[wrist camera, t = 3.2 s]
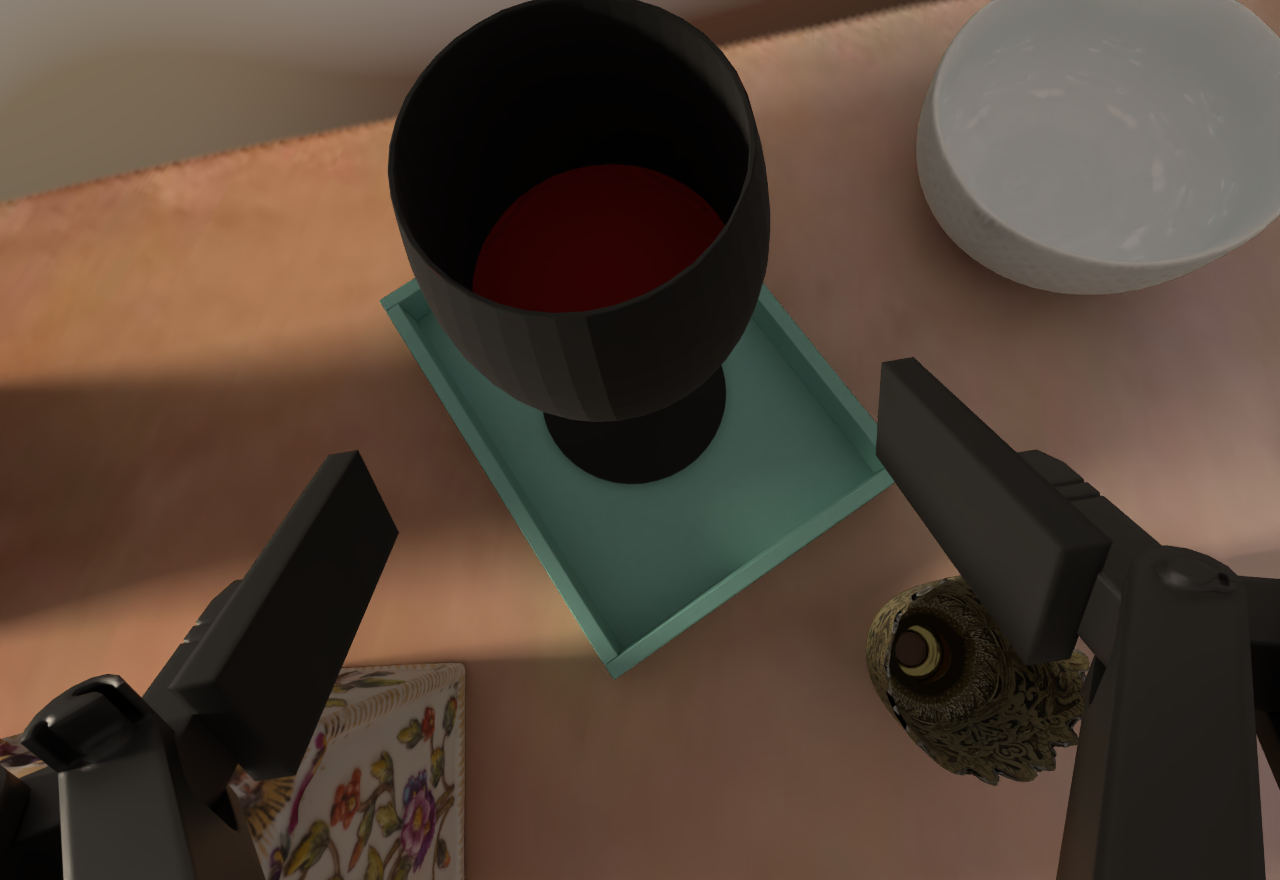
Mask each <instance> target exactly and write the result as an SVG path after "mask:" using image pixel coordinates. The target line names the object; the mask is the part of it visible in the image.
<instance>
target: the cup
mask: <svg viewBox="0 0 1280 880" xmlns="http://www.w3.org/2000/svg"><path fill="white" fill-rule="evenodd" d="M905 632H913V633H916V634H918V635H919V636H921V637H922V638H923V640H924V641H925V643H926V646H927V656H926V658H925V660H924V661H923V662H922V663H921V664H919V665H917V666H907V665H905V664H903V663H901V662H900V661H899V660H898V659H897V657H896V644H897V641H898V638H899V637H900V635H901V634H902V633H905ZM866 658H867V665H868V670H869V674H870V677H871V680H872V683H873V685H874V687H875V689H876V691H877V693H878V695H879V697H880V699H881V700H882V702H883V703H884V705H885V706H886V708H887V709H888V710H889V712H890V713H891V714H892V715H893V717H894V718H895V719H896V720H897V722H898V723H899V724H900V725H901V726H902V727H903V729H904V730H905V731H906V732H907V734H908V735H909V736H910V737H911V739H912V740H913V741H914V742H915V743H916V744H917V745H918V746H919V747H921V748H922V749H923V750H924V751H925V752H926V753H927V754H928V755H929V756H930V757H931V758H932V759H933V760H934V761H935V762H937V763H938V764H939V765H940V766H942V767H943V768H945V769H946V770H948V771H950V772H951V773H954V774H957V775H965V774H972V775H974V776H976V777H977V778H979V779H980V780H981V781H983V782H985V783H987V784H990V785H994V786H996V785H998V782H999V780H1000V779H999V778H1000V777H999V776H998V775H999V774H1000V775H1002V776H1004V777H1007V778H1009V779H1012V780H1015V781H1020V782H1028V781H1032V780H1034V778H1036V777H1037V776H1038V775H1037V771H1038V772H1041V771H1042V770H1044V771H1054V770H1055V768H1056V761H1055V757H1056V755H1057V754H1056V751H1055V749H1053V747H1055V746H1057V747H1065V748H1066V747H1069V746H1073V745H1077V744H1078V740H1079V738H1078V736H1077V735H1076V733H1075V732H1074V731H1073V728H1072V727H1074V725H1075V724H1076V723H1077V722H1078V721H1079V720H1082V715H1083V708H1084V702H1085V696H1082V695H1080V691H1081V689H1082V686H1083V684H1084V681H1085V679H1086V675H1085V672H1086V671H1088V670H1089V660H1088V657H1087V656H1086V655H1085V654H1084V653H1083V652H1082V651H1080V650H1075V649H1074V650H1073V653H1072V656H1071V658H1070V659H1067V660H1061V661H1054V662H1047V663H1041V664H1034V665H1027V666H1026V665H1025V664H1024V662H1023V661H1022V660H1021V658H1020V657H1019V655H1018V654H1017V653H1016V651H1015V650H1014V648H1013V647H1012V646H1011V644H1010V643H1009V641H1008V640H1007V639H1006V637H1005V636H1004V634H1003V633H1002V632H1001V630H1000V629H999V627H998V626H997V625H996V623H995V622H994V620H993V619H992V618H991V616H990V615H989V613H988V612H987V611H986V609H985V608H984V606H983V605H982V604H981V602H980V601H979V599H978V598H977V597H976V595H975V594H974V592H973V591H972V590H971V588H970V587H969V585H968V584H967V583H966V581H965V580H964V578H963V577H962V576H961V575H960V576H954V577H949V578H944V579H941V580H938V581H933V582H929V583H926V584H922V585H919V586H916V587H913V588H910V589H908V590H906V591H904V592H902V593H900V594H898V595H897V596H895V597H894V598H892V599H891V600H890V601H889V602H888V603H887V604H886V605H885V606H884V607H883V608H882V609H881V610H880V611H879V613H878V614H877V616H876V617H875V619H874V621H873V623H872V625H871V627H870V630H869V634H868V638H867V646H866Z"/></svg>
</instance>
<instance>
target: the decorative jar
mask: <svg viewBox="0 0 1280 880" xmlns="http://www.w3.org/2000/svg"><path fill="white" fill-rule="evenodd" d="M22 736H23V733H20V734H18V735H14V736H11V737H6V738H3V739H0V765H2V766H3V767H4V768H6V769H7V770H8V771H10V772H11V773H12V774H14V775H15V776H16V777H18V778H20V777H23V776H25V775H28V774H30V773H33V772H35V771H37V770H40V769H42V768H45V767H47V766H48V765H47V764H46V763H44V762H43V761H42V760H41V759H39V758H38V757H37V756H36V755H34V754H33V753H32V752H31V751H29V750H28V749H27V748H25V747H24V746H23V745H22V744H20V742H21V739H22ZM228 785H229V786H230V787H231V788H232V789H233V790H234V792H235V793H236V794H237V796H238V799H239V802H240V805H241V808H242V811H243V814H244V817H245V819H246V822H247V825H248V828H249V831H250V834H251V837H252V840H253V843H254V846H255V849H256V852H257V855H258V858H259V861H260V864H261V867H262V870H263V873H264V876H265V879H266V880H464V815H465V812H464V798H465V669H464V665H463V664H461V663H437V664H432V663H428V664H403V665H386V666H371V667H353V668H341V670H340V672H339V675H338V677H337V680H336V682H335V684H334V687H333V689H332V691H331V694H330V696H329V698H328V701H327V703H326V705H325V708H324V710H323V713H322V715H321V717H320V720H319V722H318V724H317V727H316V729H315V731H314V734H313V736H312V738H311V741H310V743H309V746H308V748H307V750H306V753H305V755H304V757H303V760H302V762H301V764H300V767H299V769H298V771H297V774H296V775H295V776H288V777H282V778H275V779H268V780H262V781H254V780H253V779H252V778H251V777H250V776H249V775H248V774H247V773H246V772H245V770H244V769H243V768H242V767H241V766H240V765H239V764H238V765H237V767H236V769H235V771H234V773H233V775H232V777H231V779H230V781H229V782H228Z"/></svg>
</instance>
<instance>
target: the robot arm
mask: <svg viewBox="0 0 1280 880" xmlns="http://www.w3.org/2000/svg"><path fill="white" fill-rule="evenodd" d="M876 457H877V458H878V459H879V461H880V462H881V464H882V465H883V466H884V468H885V469H886V471H887V472H888V473H889V475H890V476H891V478H892V479H893V480H894V482H895V483H896V485H897V486H898V487H899V489H900V490H901V492H902V493H903V494H904V496H905V497H906V499H907V500H908V501H909V503H910V504H911V506H912V507H913V508H914V510H915V511H916V513H917V514H918V515H919V517H920V518H921V520H922V521H923V522H924V524H925V525H926V527H927V528H928V529H929V531H930V532H931V534H932V535H933V536H934V538H935V539H936V541H937V542H938V543H939V545H940V546H941V548H942V549H943V550H944V552H945V553H946V555H947V556H948V557H949V559H950V560H951V562H952V563H953V564H954V566H955V567H956V569H957V570H958V571H959V573H960V574H961V576H962V577H963V578H964V580H965V581H966V583H967V584H968V585H969V587H970V588H971V590H972V591H973V592H974V594H975V595H976V597H977V598H978V599H979V601H980V602H981V604H982V605H983V606H984V608H985V609H986V611H987V612H988V613H989V615H990V616H991V618H992V619H993V620H994V622H995V623H996V625H997V626H998V627H999V629H1000V630H1001V632H1002V633H1003V634H1004V636H1005V637H1006V639H1007V640H1008V641H1009V643H1010V644H1011V646H1012V647H1013V648H1014V650H1015V651H1016V653H1017V654H1018V655H1019V657H1020V658H1021V660H1022V661H1023V662H1024V664H1025V665H1026V666H1027V665H1034V664H1041V663H1047V662H1054V661H1061V660H1067V659H1070V658H1071V656H1072V653H1073V650H1074V647H1075V645H1076V642H1077V639H1078V636H1080V638H1081V639H1082V640H1083V641H1084V642H1085V644H1086V645H1087V646H1088V647H1089V648H1090V649H1091V651H1092V652H1093V653H1094V654H1095V656H1094V658H1093V661H1092V663H1091V666H1090V668H1089V671H1088V674H1087V676H1086V679H1085V681H1084V684H1083V686H1082V689H1081V691H1080V695H1082V696H1085V702H1084V708H1083V715H1082V721H1081V727H1080V733H1079V740H1078V746H1077V752H1076V758H1075V765H1074V771H1073V777H1072V783H1071V790H1070V796H1069V802H1068V808H1067V814H1066V821H1065V827H1064V833H1063V839H1062V846H1061V852H1060V858H1059V864H1058V871H1057V877H1056V880H1266V877H1265V862H1264V846H1263V831H1262V816H1261V801H1260V786H1259V770H1258V755H1257V740H1256V734H1257V737H1258V739H1259V742H1260V744H1261V746H1262V749H1263V751H1264V753H1265V756H1266V758H1267V761H1268V763H1269V765H1270V768H1271V770H1272V773H1273V775H1274V777H1275V780H1276V782H1277V785H1278V787H1279V789H1280V579H1271V578H1259V577H1246V576H1237V575H1236V574H1235V573H1234V572H1233V571H1232V570H1231V569H1230V568H1229V567H1228V566H1226V565H1224V564H1223V563H1221V562H1219V561H1217V560H1215V559H1214V558H1212V557H1210V556H1208V555H1205V554H1202V553H1199V552H1196V551H1193V550H1190V549H1187V548H1180V547H1173V546H1162V545H1161V544H1159V543H1158V542H1157V541H1156V540H1155V539H1154V538H1152V537H1151V536H1150V535H1149V534H1148V533H1147V532H1145V531H1144V530H1143V529H1142V528H1141V527H1140V526H1138V525H1137V524H1136V523H1135V522H1134V521H1132V520H1131V519H1130V518H1129V517H1128V516H1127V515H1125V514H1124V513H1123V512H1122V511H1121V510H1120V509H1118V508H1117V507H1116V506H1115V505H1114V504H1112V503H1111V502H1110V501H1109V500H1108V499H1107V498H1105V497H1104V496H1100V492H1098V491H1097V490H1096V489H1095V488H1094V487H1092V486H1091V485H1090V484H1089V483H1088V482H1084V479H1083V478H1082V477H1081V476H1080V475H1078V474H1077V473H1076V472H1075V471H1074V470H1072V469H1071V468H1070V467H1069V466H1068V465H1067V464H1065V463H1064V462H1062V461H1060V460H1058V459H1056V458H1054V457H1052V456H1049V455H1047V454H1045V453H1043V452H1041V451H1039V450H1031V451H1025V452H1019V453H1017V452H1015V451H1014V450H1013V449H1012V448H1011V447H1010V446H1009V445H1008V444H1007V443H1006V442H1005V441H1004V440H1002V439H1001V438H1000V437H999V436H998V435H997V434H996V433H995V432H994V431H993V430H992V429H991V428H989V427H988V426H987V425H986V424H985V423H984V422H983V421H982V420H981V419H980V418H979V417H978V416H976V415H975V414H974V413H973V412H972V411H971V410H970V409H969V408H968V407H967V406H966V405H965V404H963V403H962V402H961V401H960V400H959V399H958V398H957V397H956V396H955V395H954V394H953V393H952V392H950V391H949V390H948V389H947V388H946V387H945V386H944V385H943V384H942V383H941V382H940V381H939V380H937V379H936V378H935V377H934V376H933V375H932V374H931V373H930V372H929V371H928V370H927V369H926V368H924V367H923V366H922V365H921V364H920V363H919V362H918V361H917V360H916V359H915V358H914V357H911V358H905V359H899V360H893V361H887V362H882V367H881V382H880V396H879V411H878V426H877V440H876ZM398 533H399V532H398V530H397V528H396V526H395V524H394V522H393V520H392V518H391V516H390V514H389V512H388V510H387V508H386V506H385V504H384V502H383V500H382V497H381V495H380V493H379V491H378V489H377V487H376V485H375V483H374V481H373V479H372V477H371V475H370V473H369V471H368V469H367V467H366V465H365V463H364V461H363V459H362V457H361V455H360V453H359V451H358V450H356V451H350V452H344V453H338V454H332V455H328V456H327V458H326V459H325V461H324V462H323V464H322V465H321V467H320V468H319V469H318V471H317V472H316V474H315V475H314V477H313V478H312V480H311V481H310V482H309V484H308V485H307V487H306V488H305V490H304V491H303V493H302V494H301V496H300V497H299V498H298V500H297V501H296V503H295V504H294V506H293V507H292V509H291V510H290V512H289V513H288V514H287V516H286V517H285V519H284V520H283V522H282V523H281V525H280V526H279V527H278V529H277V530H276V532H275V533H274V535H273V536H272V538H271V539H270V541H269V542H268V543H267V545H266V546H265V548H264V549H263V551H262V552H261V554H260V555H259V556H258V558H257V559H256V561H255V562H254V564H253V565H252V567H251V568H250V570H249V571H248V572H247V574H246V575H245V577H244V578H243V579H242V580H236V581H233V582H232V583H231V584H230V585H229V586H228V587H227V588H225V589H224V590H223V591H222V592H221V593H220V594H219V595H218V596H216V597H215V598H214V599H213V600H212V601H211V602H210V604H209V605H208V606H207V608H206V609H205V611H204V612H203V613H202V615H201V616H200V617H199V619H198V620H197V622H196V623H197V625H196V626H193V627H192V629H191V630H190V631H189V633H188V634H187V636H186V637H185V638H184V643H183V644H180V645H179V647H178V648H177V649H176V651H175V652H174V654H173V655H172V656H171V658H170V659H169V661H168V662H167V663H166V665H165V666H164V667H163V669H162V670H161V672H160V673H159V674H158V676H157V677H156V679H155V680H154V681H153V683H152V684H151V686H150V687H149V688H148V690H147V691H146V692H145V694H144V695H143V697H142V698H141V697H140V696H139V695H138V694H137V693H136V692H135V691H134V690H133V689H132V688H131V687H130V686H129V685H128V684H127V683H126V682H125V681H124V680H123V679H122V678H121V677H120V676H119V675H112V674H106V675H101V676H97V677H93V678H90V679H88V680H86V681H84V682H82V683H79V684H77V685H75V686H73V687H71V688H70V689H68V690H67V691H65V692H64V693H62V694H61V695H59V696H58V697H56V698H55V699H53V700H52V701H51V702H50V703H49V704H48V705H46V706H45V707H44V708H43V709H42V710H41V711H40V712H39V713H38V714H36V716H35V717H34V718H33V720H32V721H31V722H30V724H29V725H28V726H27V728H26V729H25V730H24V733H23V736H22V739H21V742H20V744H22V745H23V746H24V747H25V748H27V749H28V750H29V751H31V752H32V753H33V754H34V755H36V756H37V757H38V758H39V759H41V760H42V761H43V762H44V763H46V764H47V765H48V766H47V767H45V768H42V769H40V770H37V771H35V772H33V773H30V774H28V775H25V776H23V777H20V778H18V777H16V776H15V775H14V774H12V773H11V772H10V771H8V770H7V769H6V768H4V767H3V766H2V765H0V880H266V879H265V876H264V873H263V870H262V867H261V864H260V861H259V858H258V855H257V852H256V849H255V846H254V843H253V840H252V837H251V834H250V831H249V828H248V825H247V822H246V819H245V817H244V814H243V811H242V808H241V805H240V802H239V799H238V796H237V794H236V793H235V792H234V790H233V789H232V788H231V787H230V786H229V785H228V782H229V781H230V779H231V777H232V775H233V773H234V771H235V769H236V767H237V765H238V764H239V765H240V766H241V767H242V768H243V769H244V770H245V772H246V773H247V774H248V775H249V776H250V777H251V778H252V779H253V780H254V781H262V780H268V779H275V778H282V777H288V776H295V775H296V774H297V771H298V769H299V767H300V764H301V762H302V760H303V757H304V755H305V753H306V750H307V748H308V746H309V743H310V741H311V738H312V736H313V734H314V731H315V729H316V727H317V724H318V722H319V720H320V717H321V715H322V713H323V710H324V708H325V705H326V703H327V701H328V698H329V696H330V694H331V691H332V689H333V687H334V684H335V682H336V680H337V677H338V675H339V672H340V670H341V668H342V665H343V663H344V661H345V658H346V656H347V654H348V651H349V649H350V647H351V644H352V642H353V639H354V637H355V635H356V632H357V630H358V628H359V625H360V623H361V621H362V618H363V616H364V614H365V611H366V609H367V606H368V604H369V602H370V599H371V597H372V595H373V592H374V590H375V588H376V585H377V583H378V581H379V578H380V576H381V573H382V571H383V569H384V566H385V564H386V562H387V559H388V557H389V555H390V552H391V550H392V548H393V545H394V543H395V540H396V538H397V536H398Z"/></svg>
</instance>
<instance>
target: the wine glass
mask: <svg viewBox="0 0 1280 880" xmlns="http://www.w3.org/2000/svg"><path fill="white" fill-rule="evenodd" d="M388 178H389V187H390V195H391V200H392V204H393V208H394V212H395V216H396V220H397V223H398V227H399V230H400V233H401V237H402V240H403V244H404V247H405V250H406V253H407V256H408V259H409V262H410V265H411V268H412V270H413V273H414V275H415V278H416V280H417V282H418V285H419V287H420V289H421V291H422V293H423V295H424V297H425V299H426V301H427V303H428V304H429V306H430V308H431V310H432V312H433V314H434V316H435V317H436V319H437V321H438V323H439V325H440V326H441V327H442V329H443V330H444V331H445V333H446V334H447V335H448V337H449V338H450V339H451V341H452V342H453V343H454V345H455V346H456V347H457V349H458V350H459V351H460V353H461V354H462V355H463V357H464V358H465V359H466V360H467V361H469V362H470V363H471V364H472V365H473V366H474V367H475V368H476V369H477V370H478V371H479V372H480V373H481V374H482V375H484V376H485V377H486V378H487V379H488V380H489V381H490V382H491V383H492V384H494V385H495V386H497V387H498V388H500V389H501V390H503V391H504V392H506V393H507V394H509V395H510V396H512V397H513V398H515V399H516V400H518V401H520V402H522V403H524V404H526V405H529V406H531V407H533V408H535V409H538V410H540V411H542V412H543V415H544V419H545V422H546V425H547V428H548V431H549V433H550V434H551V436H552V438H553V440H554V442H555V443H556V445H557V446H558V447H559V449H560V450H561V451H562V453H563V454H564V455H565V456H566V457H567V458H568V459H569V460H570V461H572V462H573V463H574V464H575V465H576V466H578V467H579V468H581V469H582V470H584V471H585V472H587V473H589V474H591V475H593V476H595V477H597V478H600V479H603V480H607V481H610V482H614V483H622V484H645V483H649V482H654V481H659V480H662V479H664V478H667V477H670V476H672V475H674V474H676V473H678V472H680V471H681V470H683V469H685V468H686V467H688V466H689V465H690V464H691V463H693V462H694V461H695V460H697V459H698V457H699V456H700V455H701V454H702V453H703V452H704V451H705V450H706V449H707V447H708V446H709V444H710V443H711V441H712V440H713V438H714V437H715V435H716V433H717V431H718V428H719V426H720V424H721V421H722V417H723V414H724V410H725V403H726V383H725V376H724V372H723V368H722V364H723V363H724V362H725V361H726V359H727V358H728V356H729V355H730V354H731V352H732V351H733V349H734V348H735V346H736V345H737V343H738V342H739V340H740V339H741V337H742V335H743V333H744V332H745V329H746V327H747V325H748V323H749V321H750V319H751V316H752V314H753V312H754V310H755V307H756V304H757V301H758V298H759V295H760V291H761V288H762V284H763V281H764V277H765V273H766V268H767V261H768V252H769V239H770V205H769V194H768V183H767V175H766V166H765V161H764V156H763V151H762V146H761V141H760V137H759V134H758V130H757V126H756V122H755V119H754V115H753V112H752V108H751V105H750V101H749V98H748V94H747V92H746V90H745V88H744V86H743V84H742V82H741V80H740V78H739V76H738V73H737V71H736V70H735V69H734V67H733V66H732V65H731V63H730V62H729V60H728V59H727V58H726V56H725V55H724V53H723V52H722V51H721V50H720V49H719V48H718V47H717V46H716V45H715V44H714V43H713V42H712V41H711V40H710V39H709V38H708V37H707V36H706V35H705V34H704V33H702V32H701V31H700V30H698V29H697V28H695V27H694V26H692V25H691V24H690V23H688V22H687V21H685V20H684V19H682V18H680V17H678V16H676V15H674V14H672V13H670V12H668V11H666V10H664V9H662V8H660V7H657V6H653V5H651V4H647V3H644V2H641V1H638V0H532V1H528V2H525V3H522V4H519V5H516V6H513V7H510V8H507V9H504V10H501V11H499V12H498V13H495V14H494V15H492V16H490V17H488V18H486V19H484V20H483V21H481V22H479V23H477V24H476V25H474V26H473V27H471V28H470V29H468V30H467V31H465V32H464V33H462V34H461V35H459V36H458V37H456V38H455V39H454V40H453V41H452V42H451V43H450V44H448V45H447V46H446V47H445V48H444V49H443V50H442V51H441V52H440V53H439V54H438V55H436V57H435V58H434V59H433V60H432V61H431V63H430V64H429V65H428V66H427V67H426V69H425V70H424V71H423V72H422V73H421V74H420V76H419V77H418V79H417V80H416V82H415V84H414V85H413V87H412V88H411V90H410V91H409V93H408V94H407V96H406V98H405V100H404V103H403V105H402V107H401V110H400V112H399V115H398V117H397V119H396V122H395V126H394V130H393V134H392V138H391V141H390V145H389V160H388Z"/></svg>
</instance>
